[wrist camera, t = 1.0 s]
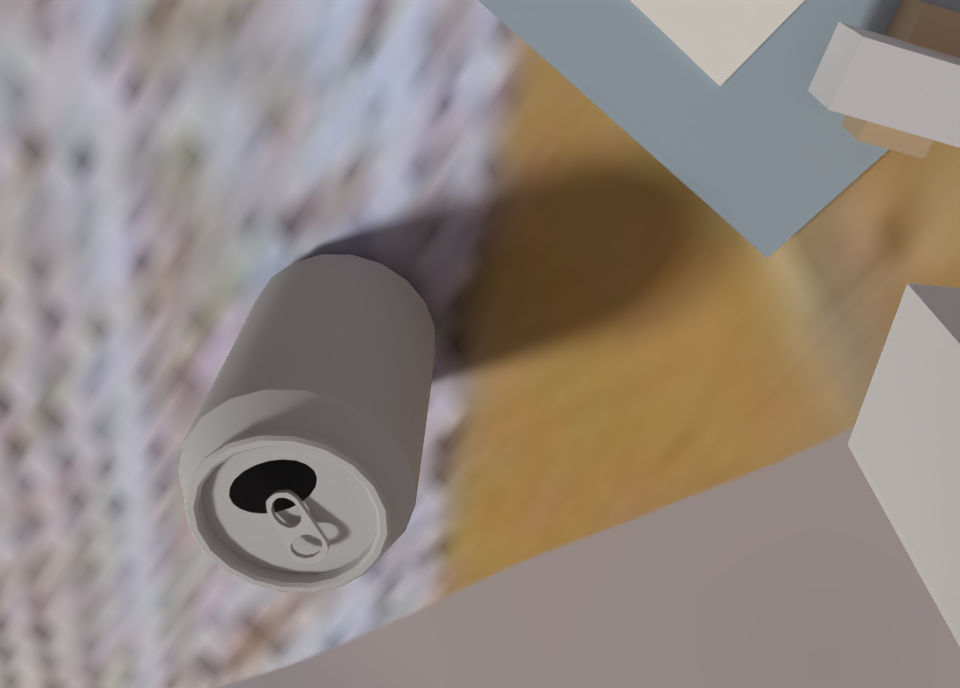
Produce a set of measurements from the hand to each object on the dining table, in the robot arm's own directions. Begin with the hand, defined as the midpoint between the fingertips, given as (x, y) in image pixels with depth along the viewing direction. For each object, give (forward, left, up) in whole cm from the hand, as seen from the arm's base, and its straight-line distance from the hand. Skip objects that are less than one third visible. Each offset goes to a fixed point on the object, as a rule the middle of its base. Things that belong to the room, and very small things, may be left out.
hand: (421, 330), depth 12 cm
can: (+4, -13, -22) cm, 25 cm away
